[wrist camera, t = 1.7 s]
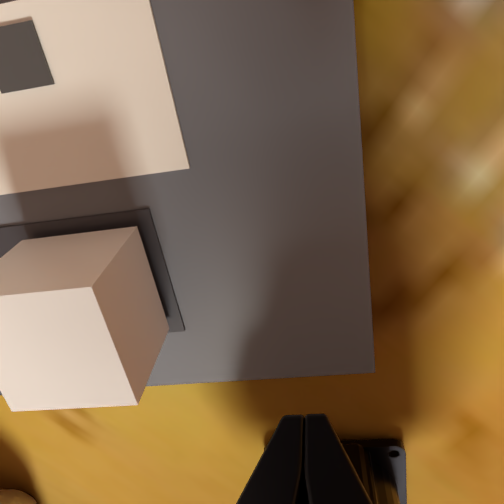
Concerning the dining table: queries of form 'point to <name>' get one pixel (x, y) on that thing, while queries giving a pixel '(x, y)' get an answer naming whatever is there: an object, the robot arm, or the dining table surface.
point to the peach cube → (78, 321)
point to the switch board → (201, 169)
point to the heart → (15, 497)
